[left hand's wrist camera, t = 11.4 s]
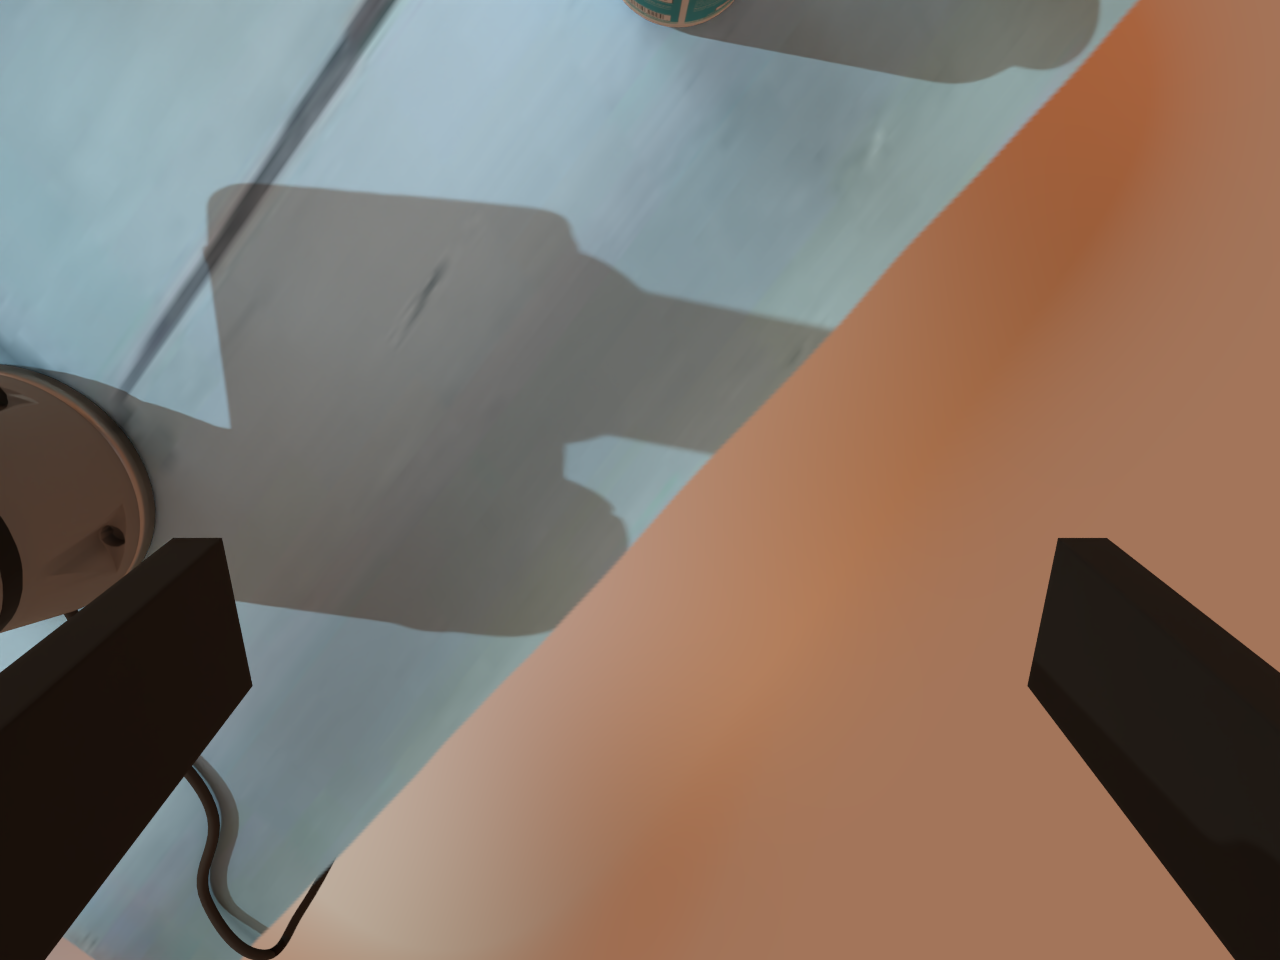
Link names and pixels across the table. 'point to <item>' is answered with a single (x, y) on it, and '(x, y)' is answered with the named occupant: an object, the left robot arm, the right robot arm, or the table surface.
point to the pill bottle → (678, 11)
